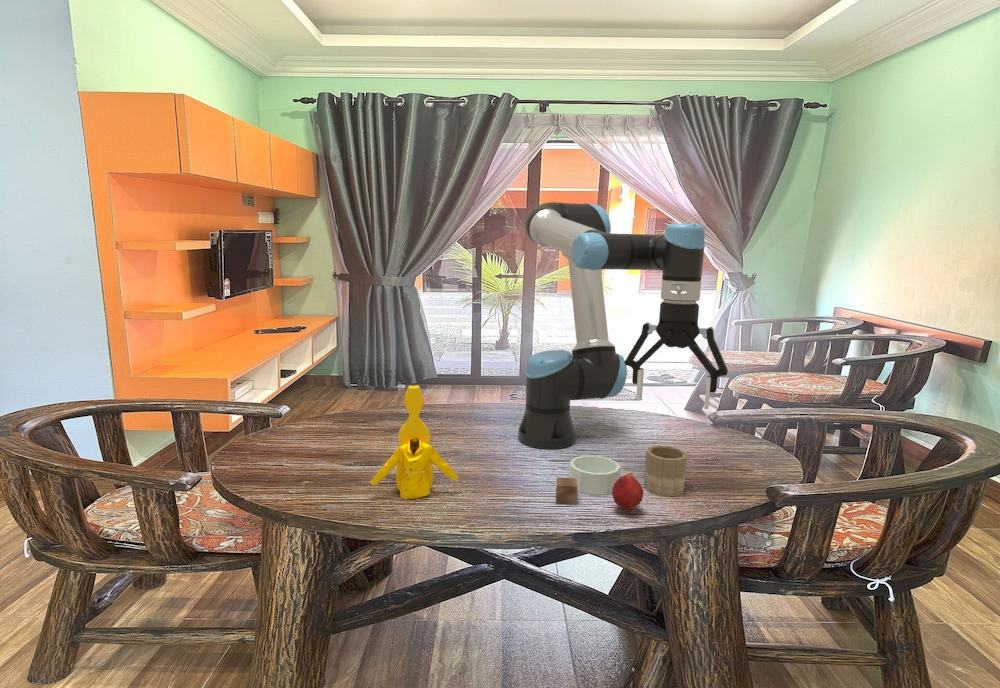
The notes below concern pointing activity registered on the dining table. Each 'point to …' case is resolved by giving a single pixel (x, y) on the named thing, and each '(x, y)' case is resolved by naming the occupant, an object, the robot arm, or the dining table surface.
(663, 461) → the canister
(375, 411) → the dining table surface
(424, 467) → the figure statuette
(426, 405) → the dining table surface
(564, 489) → the walnut block
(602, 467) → the bowl
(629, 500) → the onion
